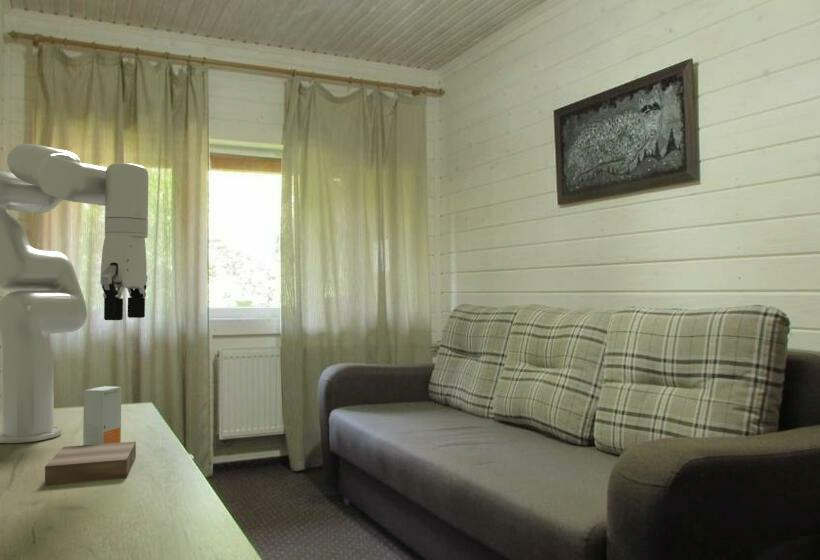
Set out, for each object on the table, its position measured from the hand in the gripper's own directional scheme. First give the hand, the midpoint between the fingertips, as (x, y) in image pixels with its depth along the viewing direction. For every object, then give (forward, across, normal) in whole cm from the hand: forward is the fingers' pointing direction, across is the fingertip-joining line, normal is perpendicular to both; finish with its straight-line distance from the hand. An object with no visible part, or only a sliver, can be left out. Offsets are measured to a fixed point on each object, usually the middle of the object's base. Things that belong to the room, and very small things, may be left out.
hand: (125, 318), depth 121 cm
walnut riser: (+26, +11, 0) cm, 28 cm away
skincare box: (+26, -5, -6) cm, 28 cm away
